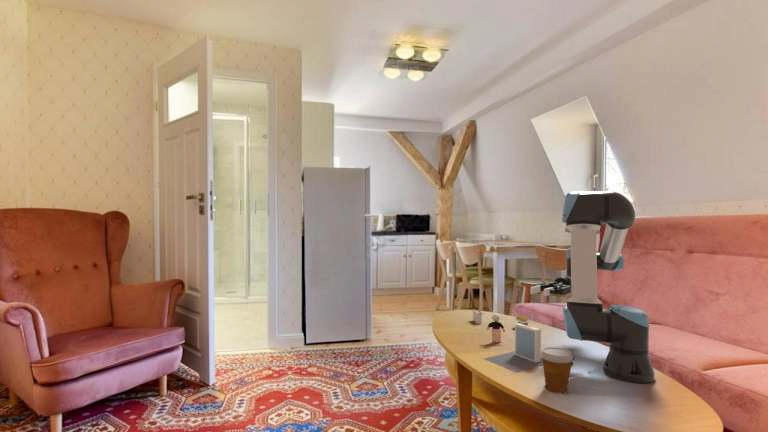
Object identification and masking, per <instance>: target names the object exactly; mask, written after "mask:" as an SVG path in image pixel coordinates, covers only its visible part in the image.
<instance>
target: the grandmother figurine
mask: <svg viewBox="0 0 768 432" xmlns="http://www.w3.org/2000/svg"><path fill="white" fill-rule="evenodd" d="M500 318H501V316H500V314H499V313H493V314H492V315H491V319H492V320H493V321H490V322H489V323H488V325H487V327H486V330H487V331H489V330H490V329H491V343H492V344H495V343H499V344H500V343H502V332H503V333H505V332H506V329H505V326H504V325H503V324H502V322H500ZM501 330H502V331H501Z"/></svg>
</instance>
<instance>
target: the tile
mask: <svg viewBox="0 0 768 432" xmlns="http://www.w3.org/2000/svg"><path fill="white" fill-rule="evenodd" d="M541 334H542V329H541V328H537V327H534V326H530V325H524V324H521V323H518V322H517V323H515V324H514V351H515V355H517V356H520V357H522V358H525V359H528V360H530V361H533V362H536V363H537V362H540V361H541V358H542V356H541V352H542V350H541V349H542V348H541V347H542V346H541V345H542V343H541V340H542V337H541V336H542V335H541Z"/></svg>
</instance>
